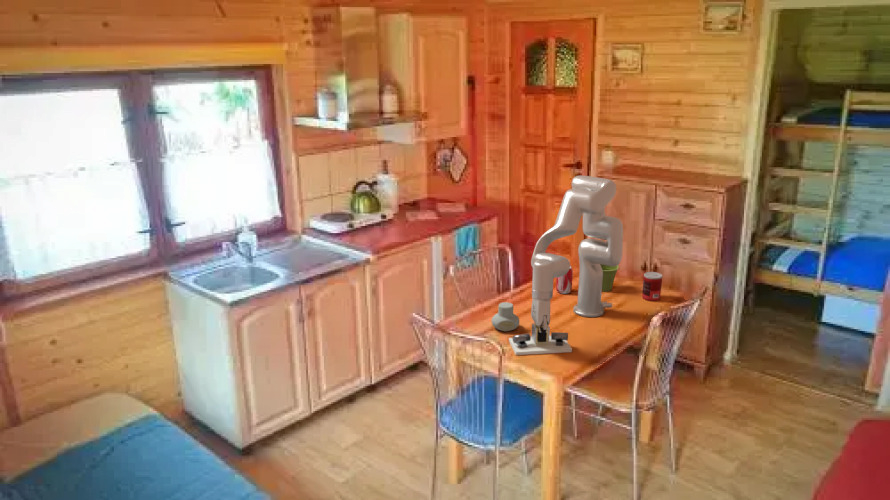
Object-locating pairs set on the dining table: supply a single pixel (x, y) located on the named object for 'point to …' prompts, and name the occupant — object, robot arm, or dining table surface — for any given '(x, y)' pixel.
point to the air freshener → (505, 317)
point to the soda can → (565, 282)
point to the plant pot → (608, 277)
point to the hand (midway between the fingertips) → (540, 338)
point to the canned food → (652, 286)
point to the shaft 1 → (521, 340)
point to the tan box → (536, 329)
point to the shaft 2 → (559, 337)
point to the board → (540, 347)
